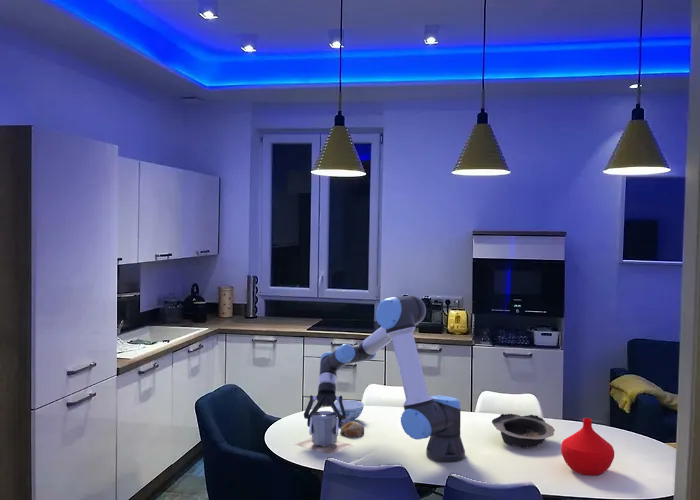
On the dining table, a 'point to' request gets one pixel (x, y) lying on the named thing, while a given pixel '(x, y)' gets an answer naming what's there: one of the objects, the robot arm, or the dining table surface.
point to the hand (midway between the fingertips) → (323, 433)
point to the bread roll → (352, 429)
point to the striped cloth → (325, 449)
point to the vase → (587, 451)
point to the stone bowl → (523, 429)
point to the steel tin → (324, 428)
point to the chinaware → (350, 409)
